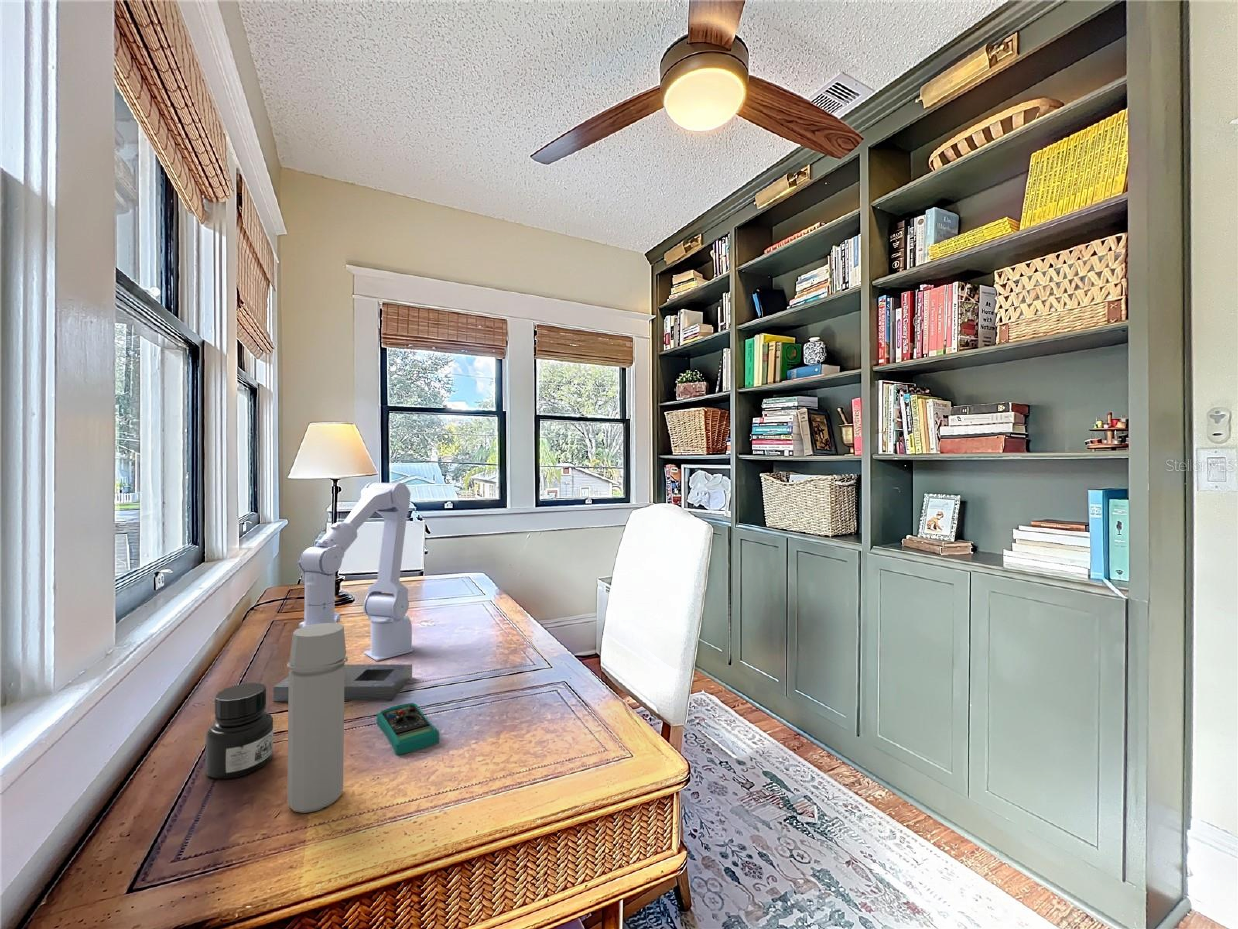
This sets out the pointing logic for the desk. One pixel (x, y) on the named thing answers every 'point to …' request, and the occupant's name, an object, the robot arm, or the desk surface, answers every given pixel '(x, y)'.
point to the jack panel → (364, 682)
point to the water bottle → (316, 716)
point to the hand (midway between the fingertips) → (319, 664)
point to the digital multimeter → (407, 728)
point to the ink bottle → (239, 732)
